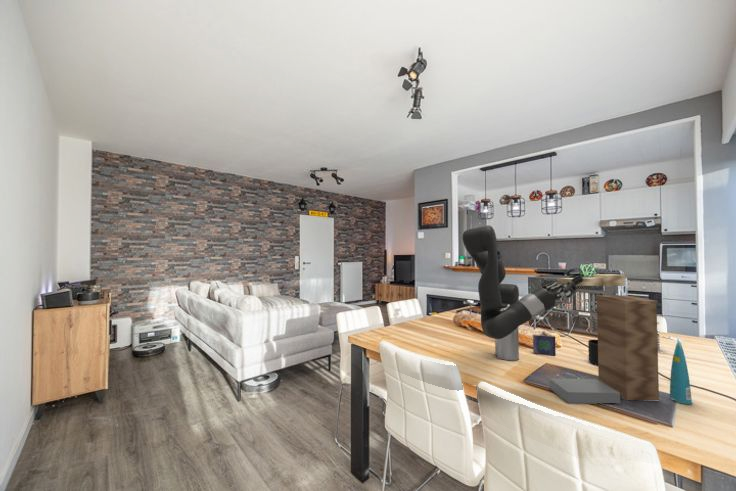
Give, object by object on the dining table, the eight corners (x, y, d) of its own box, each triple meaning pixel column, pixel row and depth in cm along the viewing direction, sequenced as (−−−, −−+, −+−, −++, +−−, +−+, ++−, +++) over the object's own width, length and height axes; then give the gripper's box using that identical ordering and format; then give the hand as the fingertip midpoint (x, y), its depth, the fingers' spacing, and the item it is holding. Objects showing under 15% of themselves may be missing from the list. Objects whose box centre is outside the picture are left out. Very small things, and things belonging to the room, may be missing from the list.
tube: (668, 394, 98) (666, 336, 99) (689, 398, 95) (687, 339, 96) (671, 402, 93) (669, 341, 93) (694, 408, 90) (692, 344, 90)
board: (568, 403, 92) (568, 392, 92) (549, 388, 102) (549, 378, 102) (620, 404, 92) (620, 392, 92) (596, 389, 102) (596, 379, 102)
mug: (629, 368, 121) (628, 345, 121) (600, 368, 121) (600, 346, 121) (609, 359, 130) (609, 339, 131) (583, 360, 130) (582, 339, 130)
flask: (533, 354, 138) (533, 331, 138) (532, 352, 141) (532, 329, 141) (556, 356, 135) (556, 332, 135) (554, 354, 138) (554, 331, 138)
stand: (626, 401, 94) (624, 300, 94) (597, 383, 106) (595, 295, 107) (660, 401, 93) (658, 300, 94) (627, 384, 106) (625, 295, 107)
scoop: (565, 286, 98) (565, 276, 98) (554, 284, 104) (553, 274, 104) (625, 285, 98) (625, 275, 98) (610, 283, 104) (610, 274, 104)
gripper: (530, 308, 107) (570, 284, 108) (554, 317, 94) (600, 289, 94) (519, 291, 108) (559, 267, 108) (541, 296, 94) (587, 268, 94)
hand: (578, 277), depth 101 cm, fingers closed on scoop, 2 cm apart
